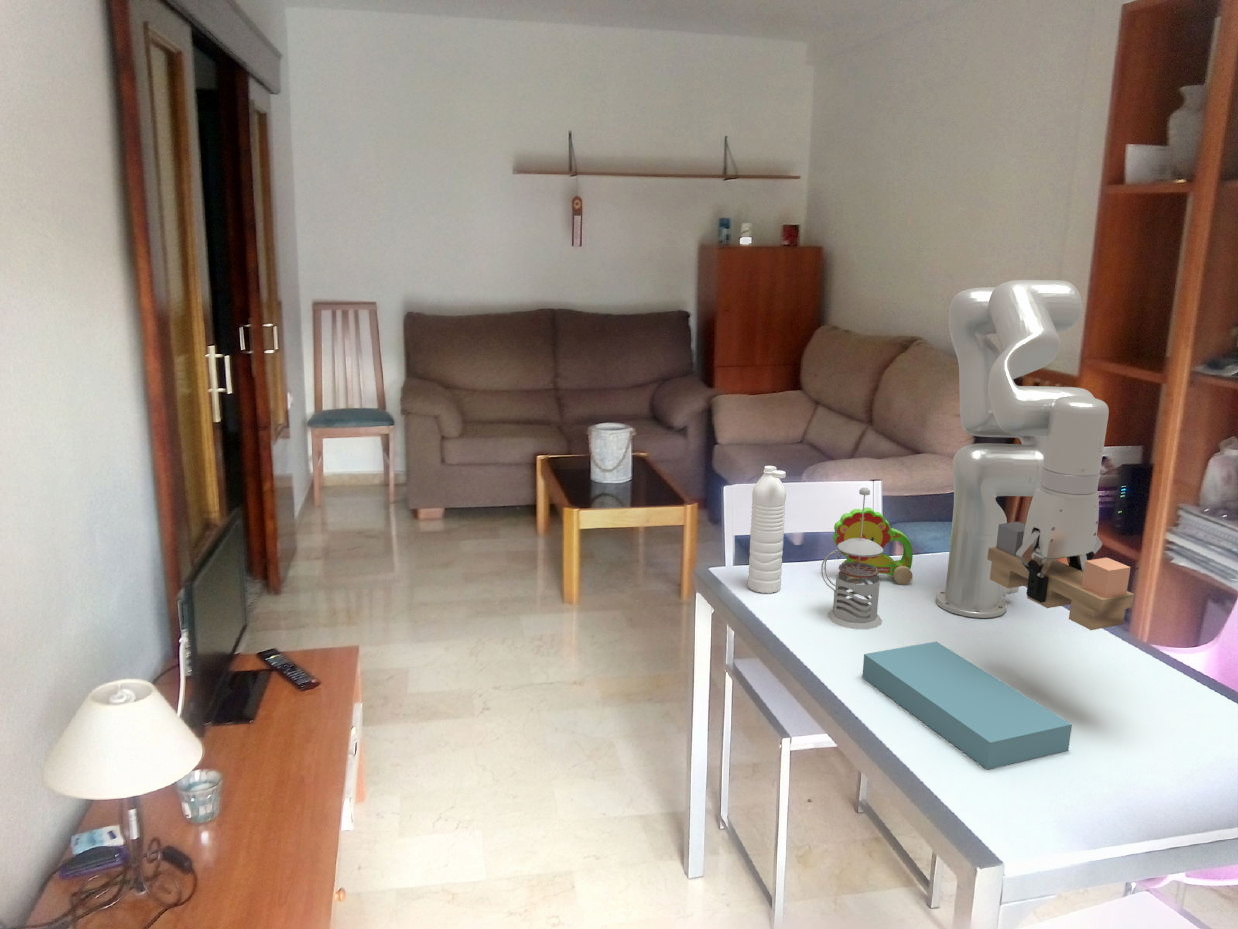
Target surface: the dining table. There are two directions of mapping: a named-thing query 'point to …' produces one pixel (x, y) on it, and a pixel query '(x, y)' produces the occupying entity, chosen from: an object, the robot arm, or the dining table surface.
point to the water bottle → (767, 532)
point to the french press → (856, 609)
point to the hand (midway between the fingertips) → (1053, 595)
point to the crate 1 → (1010, 537)
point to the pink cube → (1106, 577)
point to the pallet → (1063, 590)
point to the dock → (967, 705)
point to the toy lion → (880, 534)
